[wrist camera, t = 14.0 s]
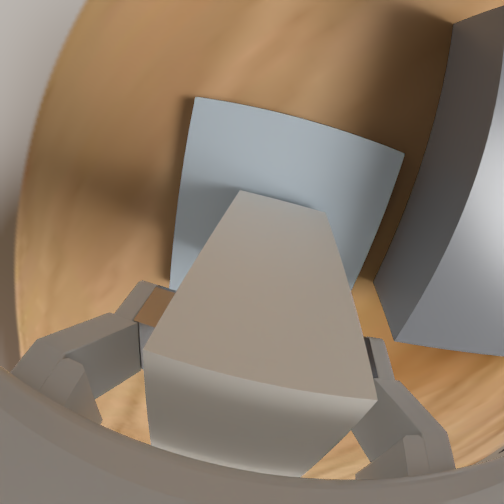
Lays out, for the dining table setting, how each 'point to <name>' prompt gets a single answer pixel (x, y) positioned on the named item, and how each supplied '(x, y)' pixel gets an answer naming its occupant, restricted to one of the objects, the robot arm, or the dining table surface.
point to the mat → (279, 177)
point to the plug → (259, 346)
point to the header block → (456, 209)
